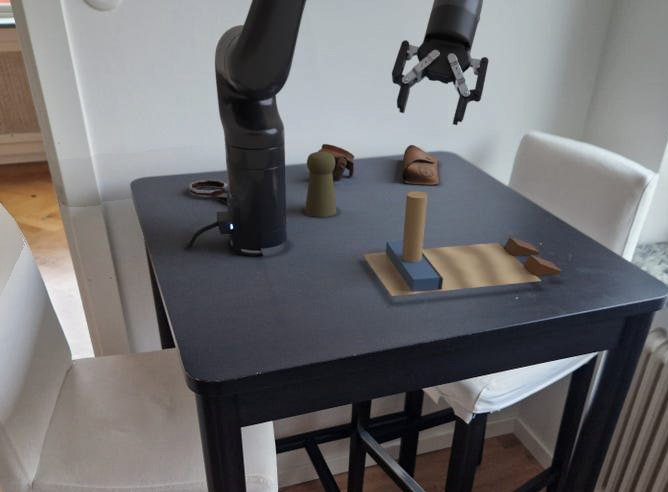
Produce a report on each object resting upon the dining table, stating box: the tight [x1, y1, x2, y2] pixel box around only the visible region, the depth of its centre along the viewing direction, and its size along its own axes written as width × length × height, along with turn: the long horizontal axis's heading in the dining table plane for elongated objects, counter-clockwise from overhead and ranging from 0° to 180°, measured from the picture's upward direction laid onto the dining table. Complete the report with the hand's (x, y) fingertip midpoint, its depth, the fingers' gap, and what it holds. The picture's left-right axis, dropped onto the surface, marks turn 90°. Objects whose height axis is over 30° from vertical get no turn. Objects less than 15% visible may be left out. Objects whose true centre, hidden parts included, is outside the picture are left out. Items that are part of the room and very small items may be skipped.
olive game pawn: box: [304, 151, 337, 218], centre depth 126 cm, size 6×6×11 cm
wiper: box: [385, 190, 443, 292], centre depth 101 cm, size 5×14×12 cm, turn 13°
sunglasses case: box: [401, 144, 440, 186], centre depth 151 cm, size 18×7×7 cm
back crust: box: [503, 236, 540, 257], centre depth 112 cm, size 4×3×2 cm
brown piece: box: [308, 143, 355, 183], centre depth 143 cm, size 12×10×8 cm
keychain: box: [188, 179, 228, 204], centre depth 132 cm, size 8×19×2 cm, turn 55°
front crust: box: [523, 255, 563, 277], centre depth 106 cm, size 4×3×2 cm
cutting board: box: [361, 242, 542, 297], centre depth 106 cm, size 24×15×2 cm, turn 106°
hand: (428, 117), depth 105 cm, fingers open, 8 cm apart
